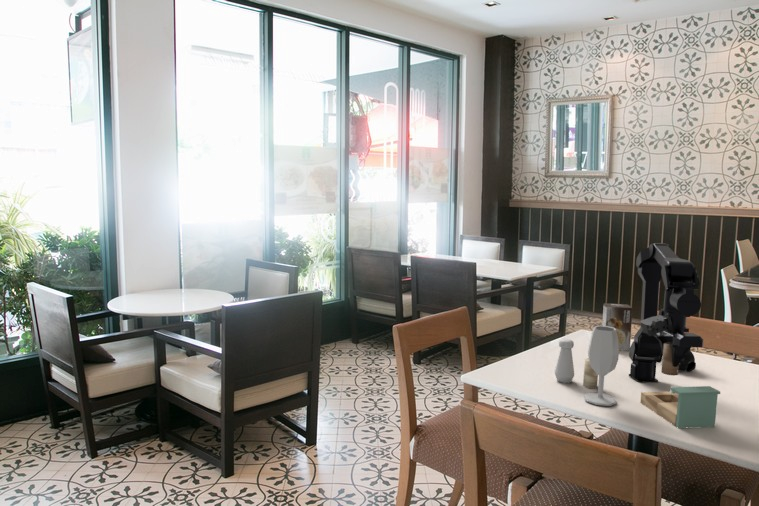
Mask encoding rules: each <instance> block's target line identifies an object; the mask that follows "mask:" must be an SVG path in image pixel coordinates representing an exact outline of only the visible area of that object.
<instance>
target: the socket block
mask: <svg viewBox="0 0 759 506" xmlns="http://www.w3.org/2000/svg"><path fill="white" fill-rule="evenodd" d="M678 395H679V394H671V393H670V391H644V392H643V391H641V392H640V403H641V404H642V405H643V406H645V407H646V408H648V409H649V410H650V411H652V412H653V411H654V412H653V413H655V414H656V415H658V416H659V417H661V418H662V417H663V418H662V419H664V420H665V421H667V422H669V423H670V424H671V423H672V424H671V425H673V426H674V425H675V426H674V427H676V417H677V406H678Z"/></svg>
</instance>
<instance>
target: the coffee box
mask: <svg viewBox="0 0 759 506" xmlns="http://www.w3.org/2000/svg"><path fill="white" fill-rule="evenodd" d="M602 307H603V308H602V309H603V310H602V324H601V326H609V327H613V328H615V329H616V332H617V336H618V344H619V351H629V349H630V347H631V339H632V338H631V336H632V320H633V307H632V306H631V305H630V304H623V303H621V304H620V303H605V302H604V303H603V306H602Z"/></svg>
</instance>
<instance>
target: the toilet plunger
mask: <svg viewBox="0 0 759 506" xmlns="http://www.w3.org/2000/svg"><path fill="white" fill-rule="evenodd" d="M696 363H697V362H696V358H695V356H694V353H693V352H692V350H691V349H690V350H689V351H688V352H687V353H686V355H685V356H684V357H683V359H682V360H681V362H680V363H679V366H678V372H687V373H691V372H693V371H694V370H695V369H696V366H697V364H696Z"/></svg>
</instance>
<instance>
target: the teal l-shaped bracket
mask: <svg viewBox="0 0 759 506" xmlns="http://www.w3.org/2000/svg"><path fill="white" fill-rule="evenodd" d="M669 392H670V393H671V394H679V395H678V406H677V417H676V426H675V427H676V428H677V427H678V428H677V429H691V428H690V427H701V428H715V427H714V426H716V415H717V407H718V406H717V405H718V396H719V395H721V391H720V390H718V389H716V388H714V387H713V386H710V385H707V386H706V385H703V386H699V385H698V386H670V387H669ZM686 427H688V428H686Z"/></svg>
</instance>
